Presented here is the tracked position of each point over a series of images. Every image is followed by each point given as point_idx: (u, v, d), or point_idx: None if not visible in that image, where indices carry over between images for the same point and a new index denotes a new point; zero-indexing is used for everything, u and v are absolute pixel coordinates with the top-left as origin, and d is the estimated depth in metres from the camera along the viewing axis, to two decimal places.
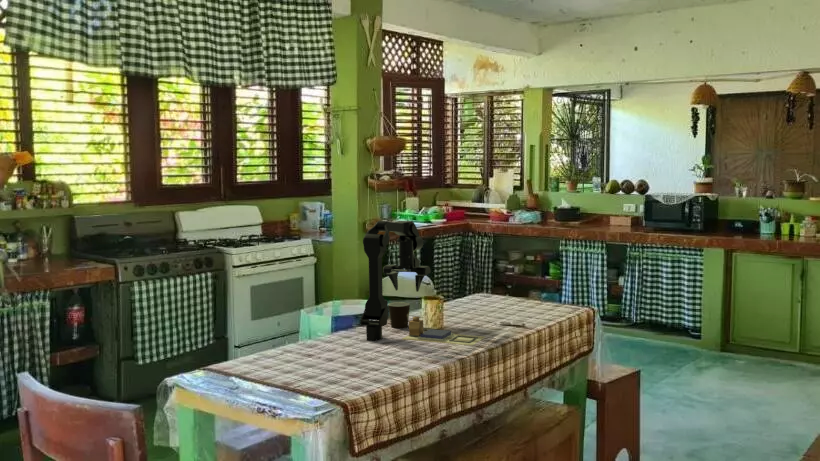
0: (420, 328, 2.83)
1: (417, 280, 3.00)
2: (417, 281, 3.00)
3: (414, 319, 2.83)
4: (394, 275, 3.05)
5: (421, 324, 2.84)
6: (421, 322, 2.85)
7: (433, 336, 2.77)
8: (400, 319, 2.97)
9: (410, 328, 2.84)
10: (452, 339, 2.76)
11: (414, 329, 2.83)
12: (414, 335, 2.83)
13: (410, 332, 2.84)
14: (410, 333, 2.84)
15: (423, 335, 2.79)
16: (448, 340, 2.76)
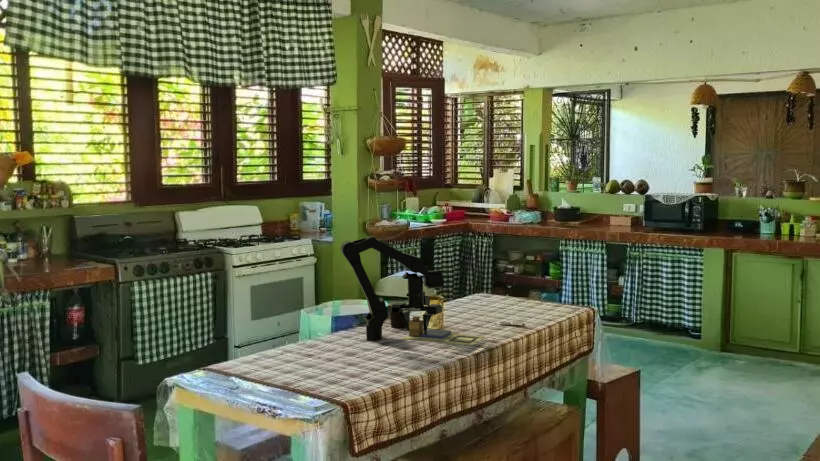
0: (420, 328, 2.83)
1: (425, 320, 2.80)
2: (425, 321, 2.81)
3: (414, 319, 2.83)
4: (406, 314, 2.85)
5: (421, 324, 2.84)
6: (421, 322, 2.85)
7: (433, 336, 2.77)
8: (400, 319, 2.97)
9: (410, 328, 2.84)
10: (452, 339, 2.76)
11: (414, 329, 2.83)
12: (414, 335, 2.83)
13: (410, 332, 2.84)
14: (410, 333, 2.84)
15: (423, 335, 2.79)
16: (448, 340, 2.76)
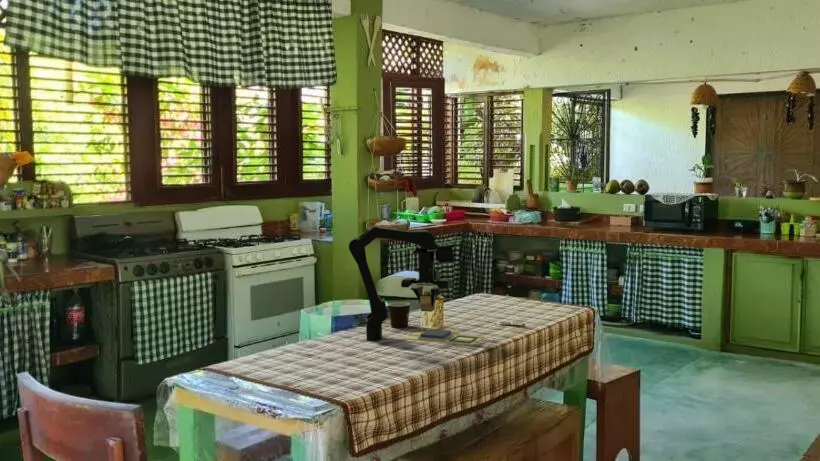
0: None
1: (433, 294, 2.78)
2: (433, 295, 2.79)
3: (425, 294, 2.81)
4: (419, 289, 2.82)
5: None
6: None
7: (433, 336, 2.77)
8: (400, 319, 2.97)
9: (421, 303, 2.81)
10: (452, 339, 2.76)
11: (425, 304, 2.80)
12: (426, 309, 2.80)
13: (421, 307, 2.81)
14: (421, 308, 2.81)
15: (423, 335, 2.79)
16: (448, 340, 2.76)
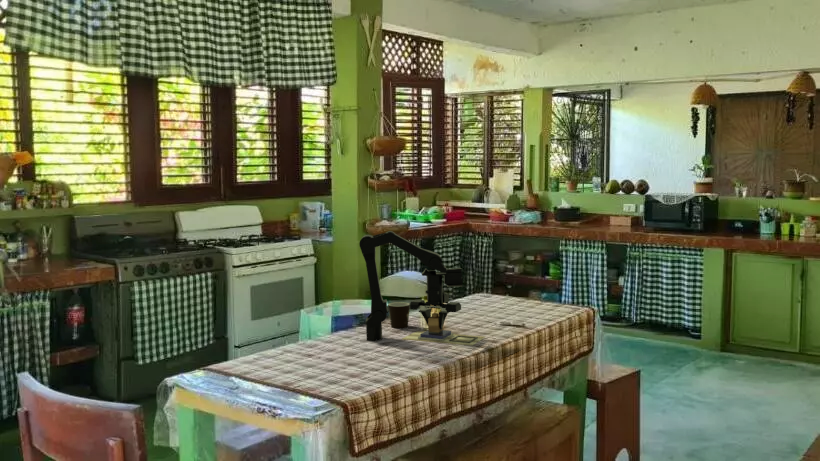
0: None
1: (441, 317, 2.77)
2: (441, 318, 2.78)
3: (433, 316, 2.80)
4: (427, 312, 2.81)
5: None
6: None
7: (433, 336, 2.77)
8: (400, 319, 2.97)
9: (429, 325, 2.80)
10: (452, 339, 2.76)
11: (433, 326, 2.79)
12: (434, 332, 2.80)
13: (429, 329, 2.80)
14: (429, 330, 2.80)
15: (423, 335, 2.79)
16: (448, 340, 2.76)
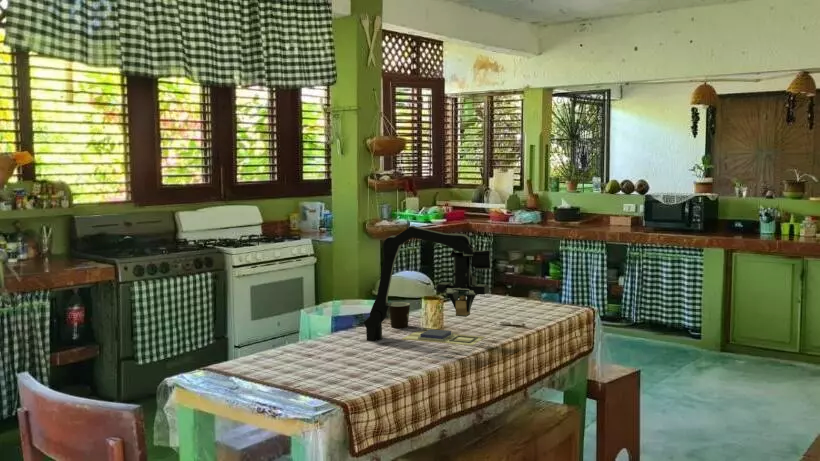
0: None
1: (469, 300, 2.72)
2: (468, 301, 2.72)
3: (461, 298, 2.74)
4: (454, 295, 2.76)
5: None
6: None
7: (433, 336, 2.77)
8: (400, 319, 2.97)
9: (457, 307, 2.75)
10: (452, 339, 2.76)
11: (460, 309, 2.74)
12: (461, 314, 2.74)
13: (457, 312, 2.75)
14: (457, 313, 2.75)
15: (423, 335, 2.79)
16: (448, 340, 2.76)
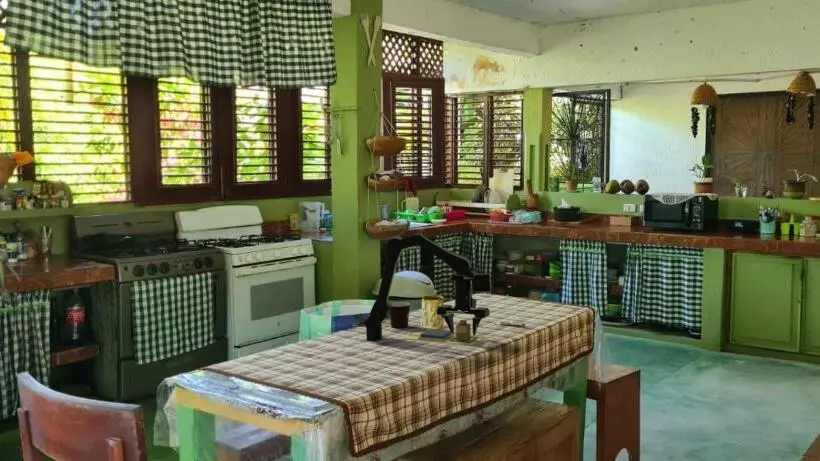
0: (468, 332, 2.75)
1: (474, 323, 2.72)
2: (474, 324, 2.72)
3: (461, 323, 2.75)
4: (450, 317, 2.77)
5: (469, 328, 2.76)
6: (469, 326, 2.76)
7: (433, 336, 2.77)
8: (400, 319, 2.97)
9: (457, 332, 2.75)
10: (452, 339, 2.76)
11: (461, 333, 2.75)
12: (462, 339, 2.75)
13: (457, 336, 2.76)
14: (457, 337, 2.76)
15: (423, 335, 2.79)
16: (448, 340, 2.76)
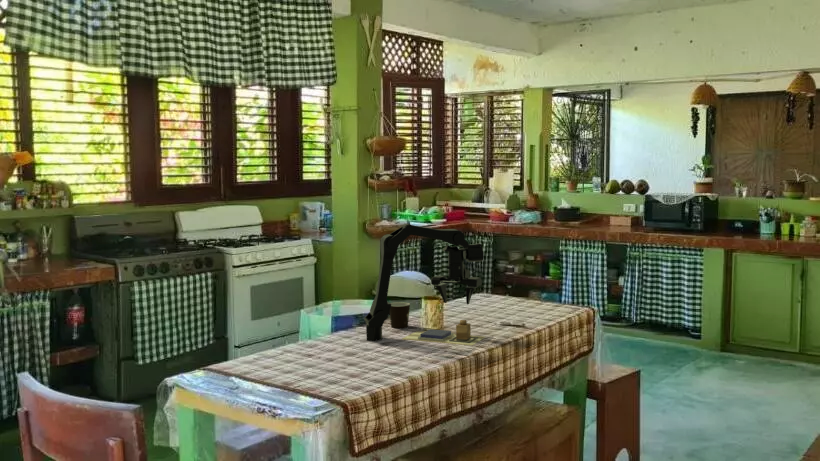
0: (468, 332, 2.75)
1: (468, 292, 2.83)
2: (468, 293, 2.83)
3: (461, 323, 2.75)
4: (443, 287, 2.89)
5: (469, 328, 2.76)
6: (469, 326, 2.76)
7: (433, 336, 2.77)
8: (400, 319, 2.97)
9: (457, 332, 2.75)
10: (452, 339, 2.76)
11: (461, 333, 2.75)
12: (462, 339, 2.75)
13: (457, 336, 2.76)
14: (457, 337, 2.76)
15: (423, 335, 2.79)
16: (448, 340, 2.76)
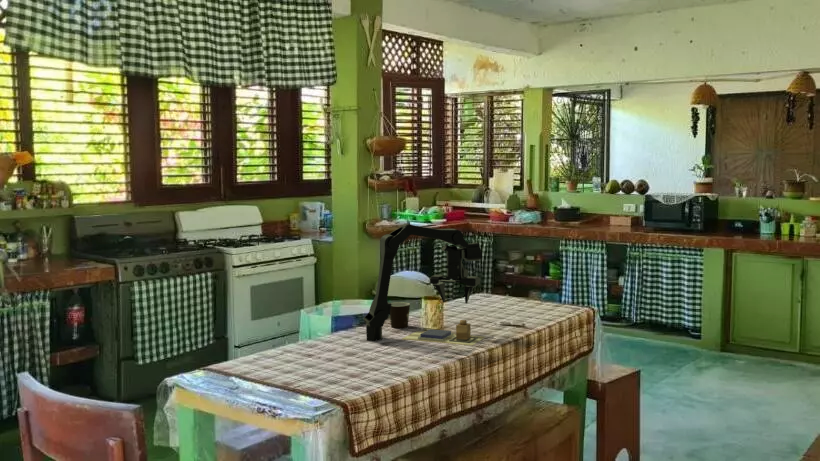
0: (468, 332, 2.75)
1: (466, 291, 2.85)
2: (466, 292, 2.85)
3: (461, 323, 2.75)
4: (441, 286, 2.91)
5: (469, 328, 2.76)
6: (469, 326, 2.76)
7: (433, 336, 2.77)
8: (400, 319, 2.97)
9: (457, 332, 2.75)
10: (452, 339, 2.76)
11: (461, 333, 2.75)
12: (462, 339, 2.75)
13: (457, 336, 2.76)
14: (457, 337, 2.76)
15: (423, 335, 2.79)
16: (448, 340, 2.76)
